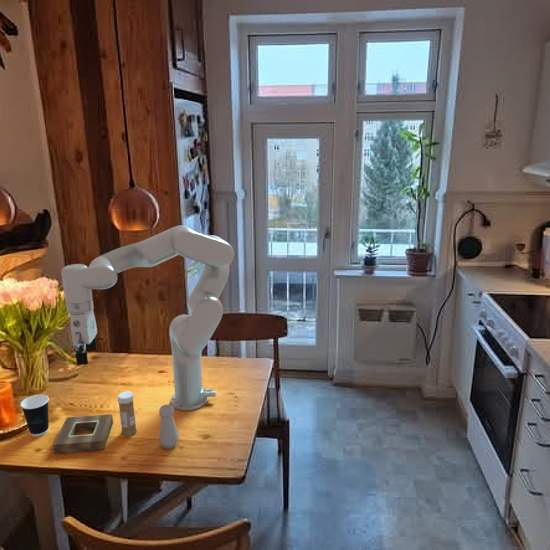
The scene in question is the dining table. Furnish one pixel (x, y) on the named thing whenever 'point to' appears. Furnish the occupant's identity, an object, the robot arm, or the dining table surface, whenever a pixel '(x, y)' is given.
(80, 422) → the socket block
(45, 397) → the dixie cup
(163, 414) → the salt shaker
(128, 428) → the sprinkles bottle
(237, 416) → the dining table surface
